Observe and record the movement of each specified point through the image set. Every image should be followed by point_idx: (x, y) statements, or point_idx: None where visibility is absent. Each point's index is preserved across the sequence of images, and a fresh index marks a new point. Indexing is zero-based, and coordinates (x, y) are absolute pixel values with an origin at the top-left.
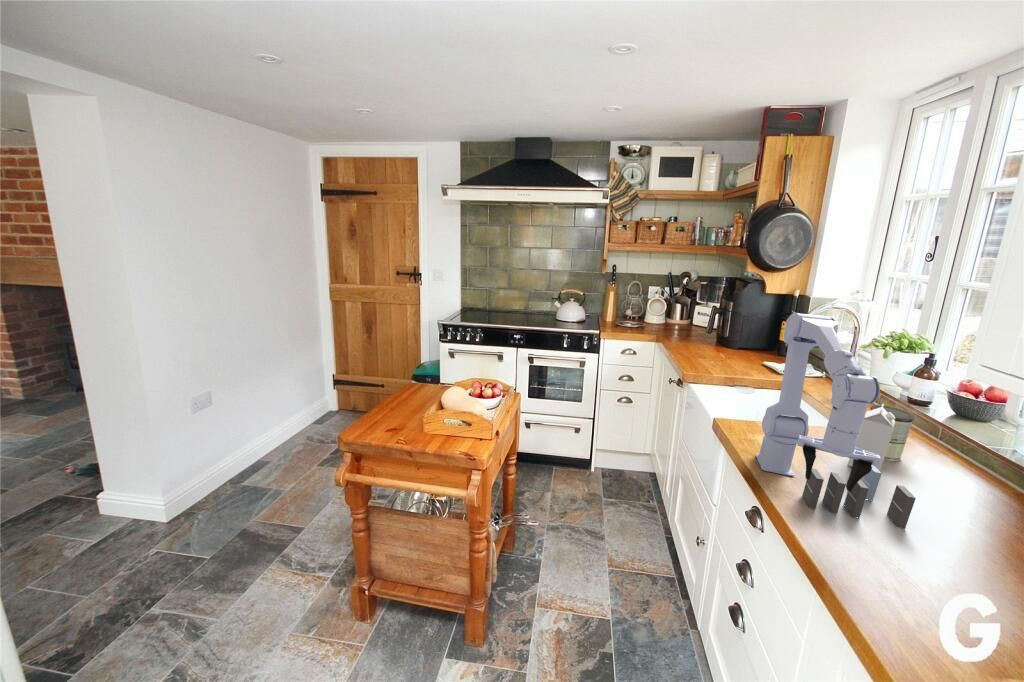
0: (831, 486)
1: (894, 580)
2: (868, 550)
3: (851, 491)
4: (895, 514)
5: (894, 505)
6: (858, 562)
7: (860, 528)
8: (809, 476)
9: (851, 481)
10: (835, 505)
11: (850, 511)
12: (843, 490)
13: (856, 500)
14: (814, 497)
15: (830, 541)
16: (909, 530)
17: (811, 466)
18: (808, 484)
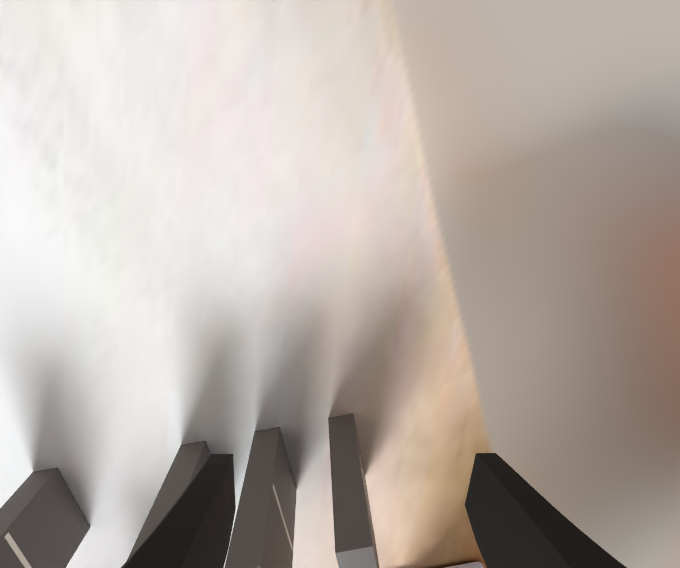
0: (281, 547)
1: (68, 43)
2: (160, 233)
3: None
4: (49, 521)
5: (41, 566)
6: (204, 103)
7: (180, 380)
8: (498, 471)
9: (198, 530)
10: (263, 455)
11: None
12: (235, 530)
13: None
14: (346, 452)
15: (300, 208)
16: (19, 468)
17: (574, 564)
18: (371, 520)
